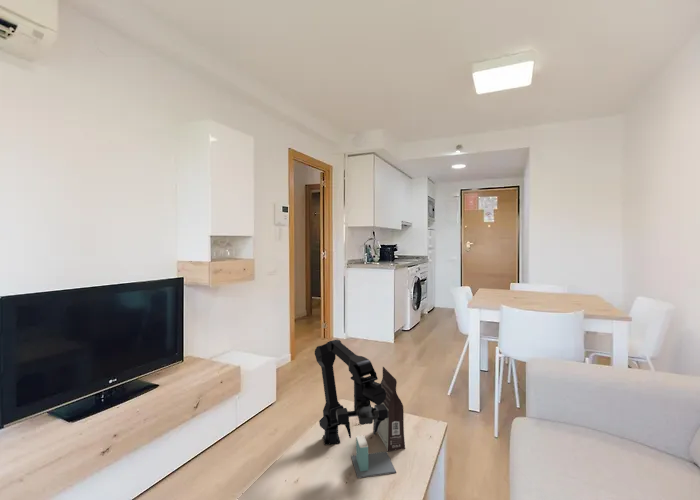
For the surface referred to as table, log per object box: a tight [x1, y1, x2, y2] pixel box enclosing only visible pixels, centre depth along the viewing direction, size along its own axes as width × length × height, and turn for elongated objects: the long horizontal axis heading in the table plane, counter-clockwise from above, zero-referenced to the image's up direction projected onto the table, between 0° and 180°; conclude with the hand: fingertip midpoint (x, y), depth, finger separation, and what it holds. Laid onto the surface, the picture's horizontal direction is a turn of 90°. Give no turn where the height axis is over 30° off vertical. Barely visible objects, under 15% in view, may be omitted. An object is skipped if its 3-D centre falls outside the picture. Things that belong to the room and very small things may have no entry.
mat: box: [351, 450, 397, 479], centre depth 130 cm, size 12×14×1 cm
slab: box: [355, 434, 369, 471], centre depth 129 cm, size 7×3×9 cm, turn 10°
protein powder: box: [376, 366, 406, 452], centre depth 147 cm, size 16×9×28 cm, turn 14°
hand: (362, 436), depth 129 cm, fingers open, 9 cm apart
